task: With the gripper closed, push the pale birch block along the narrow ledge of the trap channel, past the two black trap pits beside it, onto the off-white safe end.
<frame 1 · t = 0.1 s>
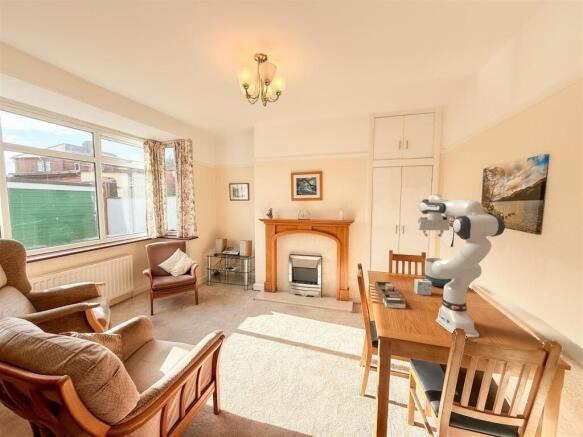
hand: (432, 236, 168), 48 cm above the table, tool pointing down, fingers open, 8 cm apart
light bulb box: (422, 293, 184), on the table
planter: (437, 285, 201), on the table
birch block: (389, 289, 185), point 3 cm above the table, touching trap channel
trap channel: (388, 296, 178), on the table
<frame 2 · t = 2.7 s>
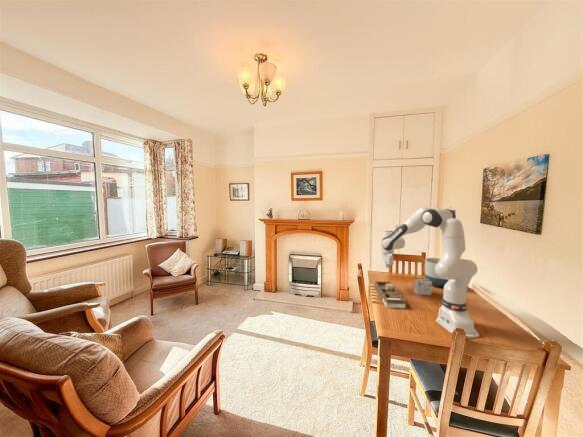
hand: (387, 267, 190), 19 cm above the table, tool pointing down, fingers closed
nothing on the table moved.
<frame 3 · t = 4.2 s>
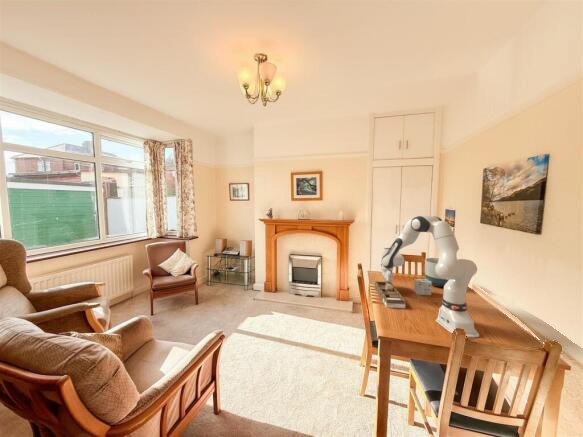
hand: (386, 283, 192), 5 cm above the table, tool pointing down, fingers closed
nothing on the table moved.
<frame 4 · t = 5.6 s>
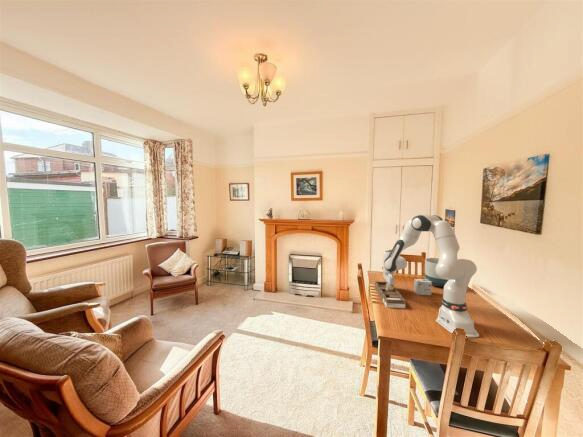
hand: (388, 286, 188), 4 cm above the table, tool pointing down, fingers closed
birch block: (389, 290, 183), point 3 cm above the table, touching gripper
everything else where it was.
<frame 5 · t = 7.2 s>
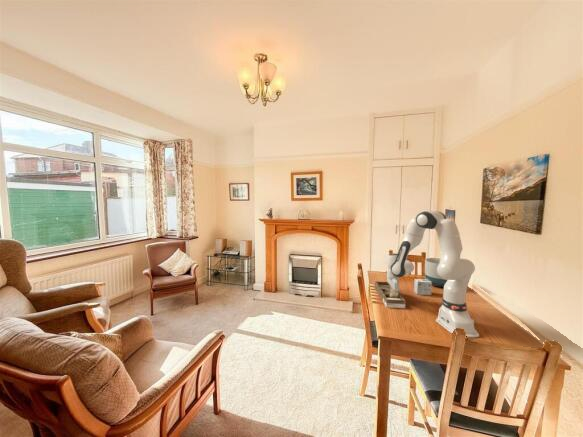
hand: (392, 292, 177), 4 cm above the table, tool pointing down, fingers closed
birch block: (394, 296, 172), point 3 cm above the table, touching gripper, trap channel
everything else where it was.
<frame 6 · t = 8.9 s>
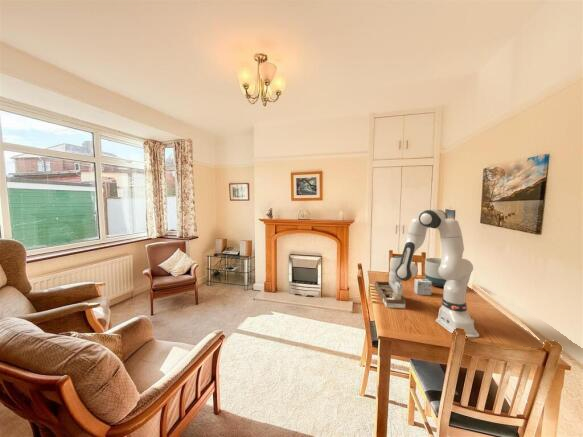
hand: (395, 296, 170), 4 cm above the table, tool pointing down, fingers closed
birch block: (396, 300, 166), point 3 cm above the table, touching gripper, trap channel
everything else where it was.
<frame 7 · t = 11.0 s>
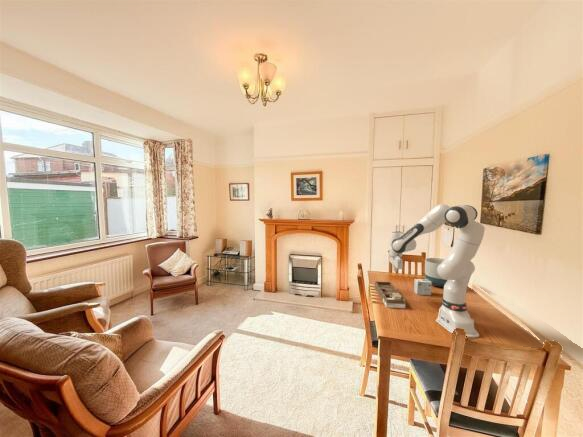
hand: (395, 271, 173), 21 cm above the table, tool pointing down, fingers closed
birch block: (396, 300, 166), point 3 cm above the table, touching trap channel
everything else where it was.
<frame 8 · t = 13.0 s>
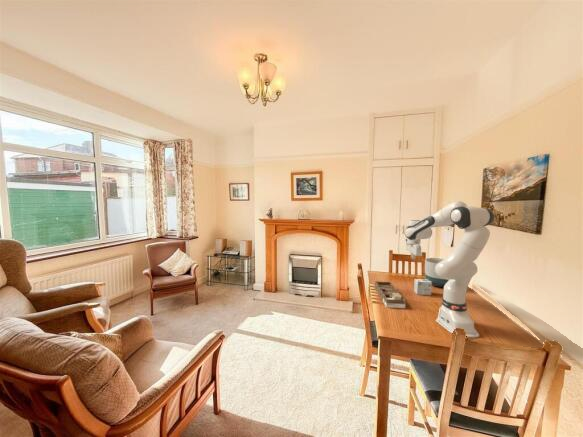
hand: (413, 258, 178), 29 cm above the table, tool pointing down, fingers closed
nothing on the table moved.
at the end: birch block 0.4 cm from the target spot on the trap channel, point 3.0 cm above the trap channel's base; birch block tilted 0° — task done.
